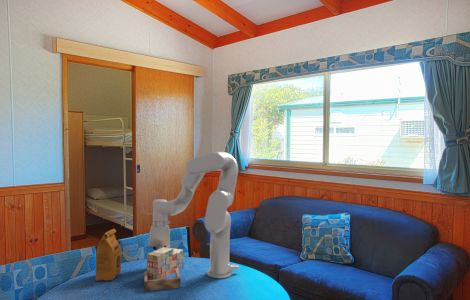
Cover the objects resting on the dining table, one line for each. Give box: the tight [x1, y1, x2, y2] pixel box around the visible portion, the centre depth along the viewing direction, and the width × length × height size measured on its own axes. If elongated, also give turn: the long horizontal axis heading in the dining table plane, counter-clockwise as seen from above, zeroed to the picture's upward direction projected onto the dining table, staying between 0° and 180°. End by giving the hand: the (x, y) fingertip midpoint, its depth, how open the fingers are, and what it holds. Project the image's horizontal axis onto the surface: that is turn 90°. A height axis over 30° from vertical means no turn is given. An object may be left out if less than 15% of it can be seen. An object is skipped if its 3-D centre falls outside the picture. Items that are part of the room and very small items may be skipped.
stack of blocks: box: [146, 247, 185, 280], centre depth 165 cm, size 21×6×12 cm, turn 155°
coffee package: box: [95, 228, 122, 282], centre depth 159 cm, size 10×12×22 cm
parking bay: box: [143, 269, 182, 292], centre depth 152 cm, size 15×13×4 cm
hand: (159, 258), depth 173 cm, fingers closed
